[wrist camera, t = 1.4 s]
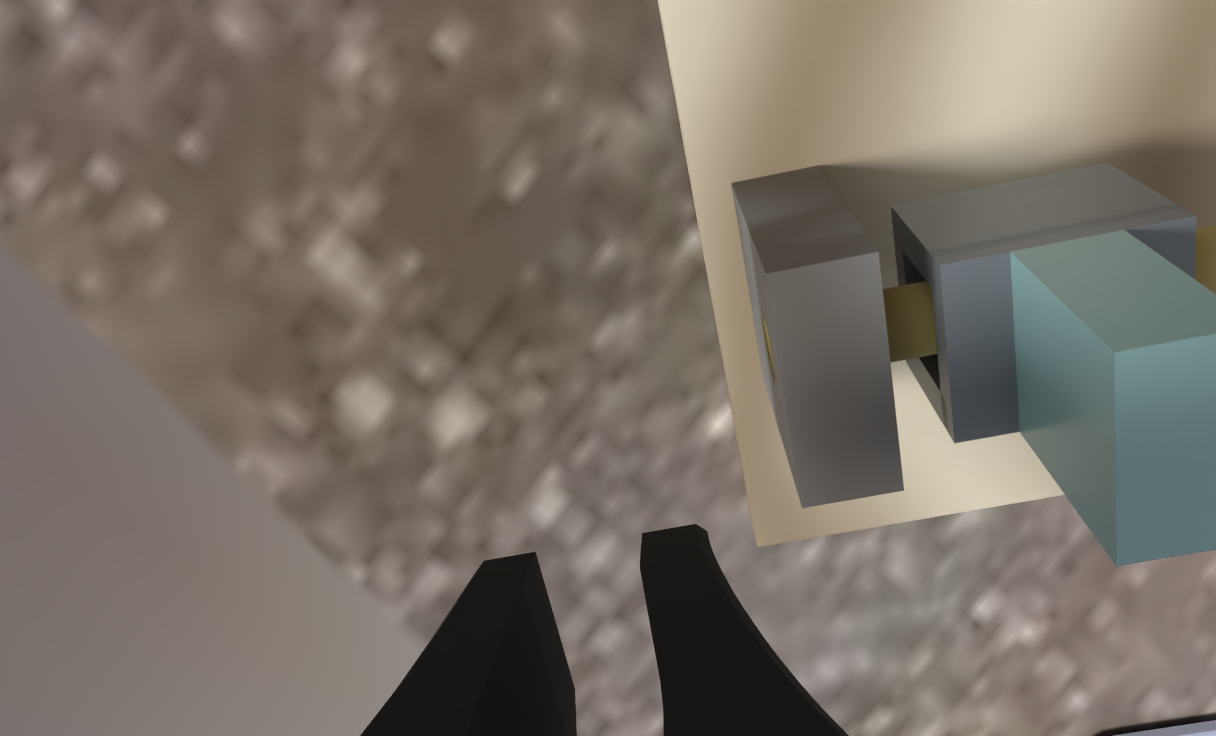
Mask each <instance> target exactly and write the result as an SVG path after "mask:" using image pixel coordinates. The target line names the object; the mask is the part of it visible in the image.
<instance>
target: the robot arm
mask: <svg viewBox="0 0 1216 736" xmlns="http://www.w3.org/2000/svg"><path fill="white" fill-rule="evenodd" d="M640 571H641V576H642V582H643V587H644V593H645V599H646V604H647V610H648V615H649V621H650V626H651V632H652V637H653V643H654V648H655V654H656V659H657V665H658V670H659V676H660V682H661V691H662V700H663V713H664V736H848V735H847V734H846V733H845V731H844V730H843V729H842V728H841V727H840V726H839V725H838V724H837V723H836V722H835V721H834V720H833V719H832V718H831V717H830V716H829V715H828V714H827V713H826V712H825V711H824V710H823V709H822V708H821V707H820V706H819V704H818V703H817V702H816V701H815V700H814V699H813V698H812V697H811V696H810V694H809V693H808V692H807V691H806V690H805V689H804V687H803V686H802V685H801V684H800V683H799V682H798V680H797V679H796V678H795V677H794V676H793V674H792V673H791V672H790V671H789V669H788V668H787V667H786V666H785V665H784V663H783V662H782V661H781V660H780V658H779V657H778V656H777V655H776V653H775V652H774V651H773V649H772V648H771V647H770V645H769V644H768V643H767V641H766V640H765V639H764V637H763V636H762V634H761V633H760V631H759V630H758V628H757V627H756V626H755V624H754V623H753V621H752V620H751V618H750V617H749V615H748V614H747V612H746V611H745V609H744V608H743V607H742V605H741V603H740V602H739V600H738V599H737V597H736V595H735V594H734V592H733V590H732V589H731V587H730V585H729V583H728V581H727V580H726V578H725V576H724V574H723V572H722V571H721V569H720V566H719V564H718V562H717V560H716V558H715V556H714V553H713V551H712V548H711V545H710V542H709V538H708V533H707V531H706V530H704V529H703V528H701V527H700V526H698V525H697V524H693V525H687V526H681V527H676V528H670V529H664V530H658V531H653V532H647V533H642V543H641V556H640ZM360 736H577V732H576V706H575V688H574V684H573V681H572V677H571V674H570V671H569V667H568V664H567V660H566V657H565V653H564V650H563V646H562V643H561V639H560V636H559V632H558V629H557V625H556V622H555V618H554V615H553V611H552V608H551V604H550V601H549V597H548V594H547V590H546V587H545V583H544V580H543V576H542V573H541V570H540V566H539V563H538V559H537V556H536V552H532V553H526V554H521V555H515V556H509V557H503V558H498V559H492V560H486V561H484V562H483V563H482V564H481V566H480V567H479V569H478V570H477V571H476V573H475V574H474V576H473V577H472V579H471V580H470V582H469V583H468V584H467V586H466V588H465V589H464V591H463V592H462V594H461V595H460V597H459V598H458V600H457V601H456V603H455V604H454V606H453V607H452V609H451V610H450V612H449V613H448V615H447V617H446V618H445V620H444V621H443V623H442V624H441V626H440V627H439V629H438V630H437V632H436V633H435V635H434V636H433V638H432V639H431V641H430V642H429V643H428V645H427V646H426V648H425V649H424V651H423V652H422V653H421V655H420V656H419V658H418V659H417V661H416V662H415V664H414V665H413V666H412V668H411V669H410V671H409V672H408V673H407V675H406V676H405V678H404V679H403V680H402V682H401V684H400V685H399V686H398V687H397V689H396V690H395V692H394V693H393V694H392V696H391V697H390V698H389V700H388V701H387V702H386V703H385V705H384V706H383V707H382V709H381V710H380V711H379V713H378V714H377V715H376V716H375V718H374V719H373V720H372V721H371V723H370V724H369V725H368V726H367V728H366V729H365V730H364V732H363V733H362V734H361V735H360ZM1114 736H1216V720H1213V721H1207V722H1200V723H1193V724H1187V725H1180V726H1173V727H1167V728H1160V729H1154V730H1147V731H1140V732H1134V733H1127V734H1120V735H1114Z"/></svg>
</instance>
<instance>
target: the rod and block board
mask: <svg viewBox="0 0 1216 736" xmlns="http://www.w3.org/2000/svg"><path fill="white" fill-rule="evenodd" d="M658 5H659V11H660V17H661V22H662V28H663V33H664V39H665V44H666V50H667V55H668V61H669V66H670V72H671V77H672V83H673V88H674V94H675V99H676V105H677V111H678V116H679V122H680V127H681V133H682V138H683V144H684V149H685V155H686V160H687V166H688V171H689V177H690V182H691V188H692V193H693V199H694V205H695V210H696V216H697V221H698V227H699V232H700V238H701V243H702V249H703V254H704V260H705V265H706V271H707V276H708V282H709V287H710V293H711V299H712V304H713V310H714V315H715V321H716V326H717V332H718V337H719V343H720V348H721V354H722V359H723V365H724V370H725V376H726V381H727V387H728V393H729V398H730V404H731V409H732V415H733V420H734V426H735V431H736V437H737V442H738V448H739V453H740V459H741V464H742V470H743V475H744V481H745V487H746V492H747V498H748V503H749V509H750V514H751V519H752V524H753V528H754V533H755V538H756V542H757V547H762V546H768V545H773V544H779V543H785V542H791V541H797V540H803V539H808V538H814V537H820V536H826V535H832V534H838V533H843V532H849V531H855V530H861V529H867V528H873V527H878V526H884V525H890V524H896V523H902V522H908V521H913V520H919V519H925V518H931V517H937V516H943V515H949V514H954V513H960V512H966V511H972V510H978V509H984V508H989V507H995V506H1001V505H1007V504H1013V503H1019V502H1024V501H1030V500H1036V499H1042V498H1048V497H1054V496H1059V495H1065V494H1064V493H1063V491H1062V490H1061V489H1060V487H1059V486H1058V484H1057V483H1056V482H1055V480H1054V479H1053V478H1052V476H1051V475H1050V473H1049V472H1048V471H1047V469H1046V468H1045V466H1044V465H1043V464H1042V462H1041V461H1040V460H1039V458H1038V457H1037V455H1036V454H1035V453H1034V451H1033V450H1032V448H1031V447H1030V446H1029V444H1028V443H1027V442H1026V440H1025V439H1024V437H1023V436H1022V435H1021V433H1020V432H1016V433H1011V434H1005V435H999V436H994V437H988V438H982V439H977V440H971V441H966V442H960V443H954V442H953V440H952V438H951V437H950V435H949V433H948V432H947V430H946V428H945V427H944V425H943V423H942V422H941V420H940V418H939V417H938V415H937V413H936V412H935V410H934V408H933V407H932V405H931V403H930V402H929V400H928V398H927V396H926V395H925V393H924V391H923V390H922V388H921V386H920V385H919V383H918V381H917V380H916V378H915V376H914V375H913V373H912V371H911V370H910V368H909V366H908V365H907V363H906V360H907V359H912V358H918V357H923V356H929V355H934V354H937V343H936V331H935V319H934V308H933V296H932V288H931V287H930V285H929V284H928V283H927V281H923V282H918V283H912V284H907V285H902V286H899V285H898V275H897V265H896V255H895V246H894V236H893V226H892V216H891V206H890V205H895V204H900V203H905V202H910V201H915V200H920V199H925V198H930V197H935V196H941V195H946V194H951V193H956V192H961V191H966V190H971V189H976V188H981V187H986V186H991V185H996V184H1001V183H1006V182H1011V181H1016V180H1021V179H1026V178H1031V177H1036V176H1041V175H1047V174H1052V173H1057V172H1062V171H1067V170H1072V169H1077V168H1082V167H1087V166H1092V165H1097V164H1102V163H1109V164H1110V165H1112V166H1114V167H1116V168H1117V169H1119V170H1121V171H1122V172H1124V173H1126V174H1127V175H1129V176H1131V177H1132V178H1134V179H1136V180H1137V181H1139V182H1141V183H1142V184H1144V185H1146V186H1147V187H1149V188H1151V189H1153V190H1154V191H1156V192H1158V193H1159V194H1161V195H1163V196H1164V197H1166V198H1168V199H1169V200H1171V201H1173V202H1174V203H1176V204H1178V205H1179V206H1181V207H1183V208H1184V209H1186V210H1188V211H1189V212H1191V213H1193V214H1195V215H1196V216H1197V223H1196V263H1195V280H1196V281H1198V282H1199V283H1200V284H1202V285H1203V286H1205V287H1206V288H1208V289H1209V290H1210V291H1212V292H1213V293H1215V294H1216V0H658Z"/></svg>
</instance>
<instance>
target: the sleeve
mask: <svg viewBox="0 0 1216 736" xmlns="http://www.w3.org/2000/svg"><path fill="white" fill-rule="evenodd" d="M890 206H891V216H892V226H893V236H894V246H895V255H896V265H897V275H898V285H899V286H902V285H907V284H912V283H918V282H923V281H927V283H928V284H929V285H930V287H931V288H932V296H933V308H934V319H935V331H936V343H937V354H934V355H929V356H923V357H918V358H912V359H907V360H906V363H907V365H908V366H909V368H910V370H911V371H912V373H913V375H914V376H915V378H916V380H917V381H918V383H919V385H920V386H921V388H922V390H923V391H924V393H925V395H926V396H927V398H928V400H929V402H930V403H931V405H932V407H933V408H934V410H935V412H936V413H937V415H938V417H939V418H940V420H941V422H942V423H943V425H944V427H945V428H946V430H947V432H948V433H949V435H950V437H951V438H952V440H953V442H954V443H960V442H966V441H971V440H977V439H982V438H988V437H994V436H999V435H1005V434H1011V433H1016V432H1020V433H1021V435H1022V436H1023V437H1024V439H1025V440H1026V442H1027V443H1028V444H1029V446H1030V447H1031V448H1032V450H1033V451H1034V453H1035V454H1036V455H1037V457H1038V458H1039V460H1040V461H1041V462H1042V464H1043V465H1044V466H1045V468H1046V469H1047V471H1048V472H1049V473H1050V475H1051V476H1052V478H1053V479H1054V480H1055V482H1056V483H1057V484H1058V486H1059V487H1060V489H1061V490H1062V491H1063V493H1064V494H1065V495H1066V497H1067V498H1068V500H1069V501H1070V502H1071V504H1072V505H1073V507H1074V508H1075V509H1076V511H1077V512H1078V513H1079V515H1080V516H1081V518H1082V519H1083V520H1084V522H1085V523H1086V525H1087V526H1088V527H1089V529H1090V530H1091V531H1092V533H1093V534H1094V536H1095V537H1096V538H1097V540H1098V541H1099V542H1100V544H1101V545H1102V547H1103V548H1104V549H1105V551H1106V552H1107V554H1108V555H1109V556H1110V558H1111V559H1112V560H1113V562H1114V563H1115V565H1116V566H1119V565H1125V564H1131V563H1137V562H1143V561H1149V560H1156V559H1162V558H1168V557H1174V556H1180V555H1186V554H1192V553H1198V552H1204V551H1210V550H1216V294H1215V293H1213V292H1212V291H1210V290H1209V289H1208V288H1206V287H1205V286H1203V285H1202V284H1200V283H1199V282H1198V281H1196V280H1195V263H1196V223H1197V216H1196V215H1195V214H1193V213H1191V212H1189V211H1188V210H1186V209H1184V208H1183V207H1181V206H1179V205H1178V204H1176V203H1174V202H1173V201H1171V200H1169V199H1168V198H1166V197H1164V196H1163V195H1161V194H1159V193H1158V192H1156V191H1154V190H1153V189H1151V188H1149V187H1147V186H1146V185H1144V184H1142V183H1141V182H1139V181H1137V180H1136V179H1134V178H1132V177H1131V176H1129V175H1127V174H1126V173H1124V172H1122V171H1121V170H1119V169H1117V168H1116V167H1114V166H1112V165H1110V164H1109V163H1102V164H1097V165H1092V166H1087V167H1082V168H1077V169H1072V170H1067V171H1062V172H1057V173H1052V174H1047V175H1041V176H1036V177H1031V178H1026V179H1021V180H1016V181H1011V182H1006V183H1001V184H996V185H991V186H986V187H981V188H976V189H971V190H966V191H961V192H956V193H951V194H946V195H941V196H935V197H930V198H925V199H920V200H915V201H910V202H905V203H900V204H895V205H890Z"/></svg>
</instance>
